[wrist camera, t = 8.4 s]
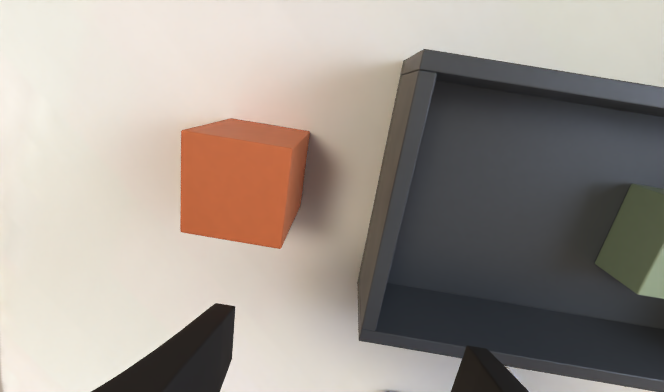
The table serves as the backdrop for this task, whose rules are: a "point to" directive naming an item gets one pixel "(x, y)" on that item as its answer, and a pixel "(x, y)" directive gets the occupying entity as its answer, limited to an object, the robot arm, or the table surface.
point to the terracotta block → (242, 180)
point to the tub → (512, 219)
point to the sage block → (637, 242)
